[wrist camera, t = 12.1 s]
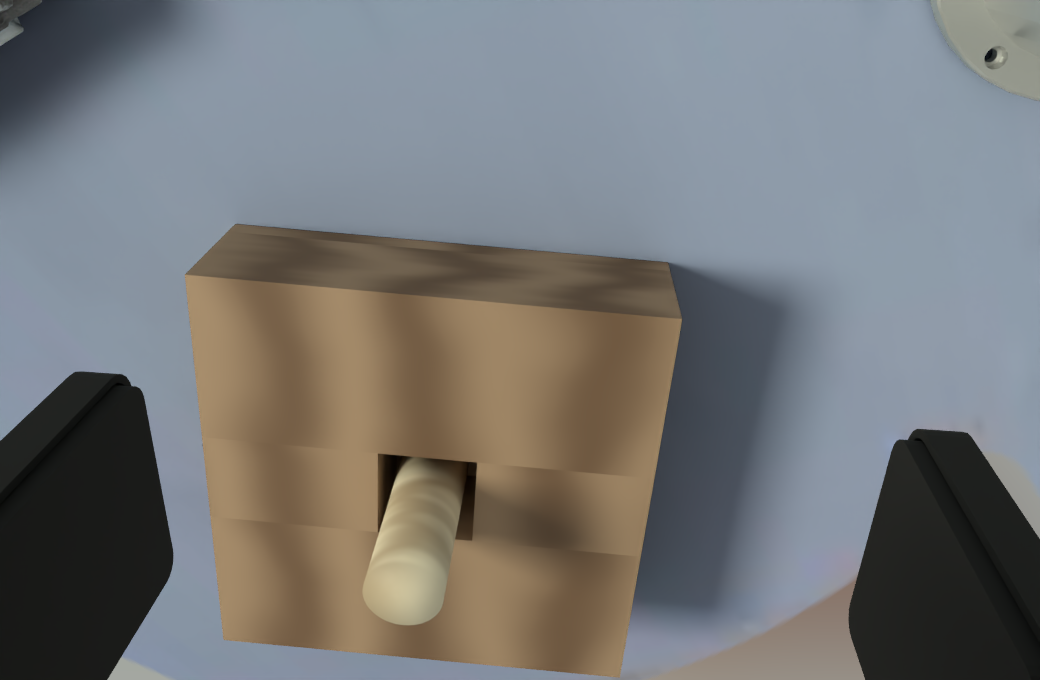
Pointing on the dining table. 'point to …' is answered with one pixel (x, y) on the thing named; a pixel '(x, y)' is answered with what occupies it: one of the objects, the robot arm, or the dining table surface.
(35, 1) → the towel
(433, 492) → the peg
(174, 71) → the dining table surface
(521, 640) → the bore block
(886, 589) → the robot arm
